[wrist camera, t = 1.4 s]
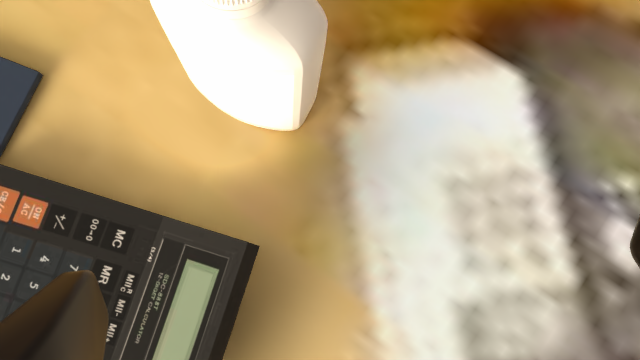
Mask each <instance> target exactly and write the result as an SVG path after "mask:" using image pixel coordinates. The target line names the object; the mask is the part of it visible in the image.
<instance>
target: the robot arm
mask: <svg viewBox="0 0 640 360" xmlns="http://www.w3.org/2000/svg"><path fill="white" fill-rule="evenodd" d="M630 250H631V254H632V257H633V258H634V260H635V262H636V263H637V265H638V266H639V268H640V216H639V218H638V221H637V224H636V227H635V230H634V233H633V236H632V239H631V242H630ZM108 323H109V317H108V310H107V307H106V304H105V301H104V298H103V296H102V293H101V290H100V287H99V284H98V282H97V279H96V276H95V275H94V273H93V272H91V271H89V270H81V271H73V272H65V273H62V274H60V275H59V276H57V277H56V278H55V279H54V280H52V281H51V282H50V283H49V284H47V285H46V286H45V287H44V288H42V289H41V290H40V291H39V292H37V293H36V294H35V295H34V296H32V297H31V298H30V299H29V300H27V301H26V302H25V303H24V304H22V305H21V306H20V307H18V308H17V309H16V310H15V311H13V312H12V313H11V314H10V315H8V316H7V317H6V318H5V319H3V320H2V321H1V322H0V360H103V358H104V351H105V344H106V338H107V331H108Z"/></svg>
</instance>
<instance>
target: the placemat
mask: <svg viewBox="0 0 640 360" xmlns="http://www.w3.org/2000/svg"><path fill="white" fill-rule="evenodd" d="M42 77H43V75H42V74H41V73H40V72H38V71H36V70H33V69H30V68H28V67H25V66H23V65H20V64H18V63H15V62H13V61H10V60H8V59H5V58H2V57H0V157H1V155H2V153H3V151H4V149H5V148H6V146H7V144H8V142H9V140H10V138H11V136H12V134H13V132H14V130H15V128H16V126H17V125H18V123H19V121H20V119H21V117H22V115H23V113H24V111H25V109H26V107H27V105H28V103H29V102H30V100H31V98H32V96H33V94H34V92H35V90H36V88H37V86H38V84H39V82H40V80H41V79H42Z"/></svg>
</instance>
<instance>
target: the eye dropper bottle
mask: <svg viewBox="0 0 640 360" xmlns="http://www.w3.org/2000/svg"><path fill="white" fill-rule="evenodd" d="M150 2H151V5H152V7H153V9H154V11H155V13H156V15H157V17H158V19H159V22H160V23H161V25H162V27H163V29H164V31H165V33H166V35H167V37H168V39H169V41H170V42H171V44H172V46H173V48H174V50H175V52H176V54H177V56H178V57H179V59H180V61H181V63H182V65H183V67H184V69H185V70H186V72H187V74H188V76H189V78H190V80H191V81H192V82H193V84H194V85H195V86H196V87H197V89H198V90H199V91H200V92H201V93H202V94H203V95H204V96H205V97H206V98H207V99H208V100H209V101H211V102H212V103H213V104H214V105H215V106H217V107H218V108H219V109H221V110H222V111H224V112H225V113H227V114H229V115H230V116H232V117H234V118H236V119H238V120H240V121H243V122H245V123H248V124H251V125H254V126H257V127H261V128H266V129H271V130H279V131H292V130H296V129H298V128H299V127H300V126H301V125H302V124H303V123H304V121H305V119H306V117H307V115H308V113H309V111H310V109H311V108H312V106H313V104H314V101H315V99H316V95H317V90H318V84H319V79H320V73H321V68H322V62H323V56H324V50H325V44H326V37H327V29H328V20H327V18H326V15H325V12H324V10H323V9H322V7H321V6H320V4H319V3H318V1H317V0H150Z"/></svg>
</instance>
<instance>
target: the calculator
mask: <svg viewBox="0 0 640 360" xmlns="http://www.w3.org/2000/svg"><path fill="white" fill-rule="evenodd" d="M259 247H260V246H258V245H255V244H252V243H249V242H246V241H243V240H239V239H236V238H233V237H230V236H227V235H223V234H220V233H217V232H214V231H210V230H207V229H204V228H201V227H198V226H194V225H191V224H188V223H185V222H182V221H178V220H175V219H172V218H169V217H165V216H162V215H159V214H156V213H153V212H150V211H146V210H143V209H140V208H137V207H134V206H131V205H127V204H124V203H121V202H118V201H115V200H112V199H108V198H105V197H102V196H99V195H96V194H93V193H90V192H86V191H83V190H80V189H77V188H74V187H71V186H67V185H64V184H61V183H58V182H55V181H52V180H48V179H45V178H42V177H39V176H36V175H33V174H29V173H26V172H23V171H20V170H17V169H14V168H10V167H7V166H4V165H1V164H0V322H1V321H2V320H3V319H5V318H6V317H7V316H8V315H10V314H11V313H12V312H13V311H15V310H16V309H17V308H18V307H20V306H21V305H22V304H24V303H25V302H26V301H27V300H29V299H30V298H31V297H32V296H34V295H35V294H36V293H37V292H39V291H40V290H41V289H42V288H44V287H45V286H46V285H47V284H49V283H50V282H51V281H52V280H54V279H55V278H56V277H57V276H59V275H60V274H62V273H65V272H73V271H81V270H89V271H91V272H93V273H94V275H95V276H96V279H97V282H98V284H99V287H100V290H101V293H102V296H103V298H104V301H105V304H106V307H107V310H108V317H109V323H108V331H107V338H106V344H105V351H104V358H103V360H222V359H223V356H224V353H225V350H226V347H227V344H228V340H229V337H230V334H231V331H232V328H233V325H234V322H235V319H236V316H237V313H238V310H239V307H240V304H241V301H242V298H243V295H244V292H245V289H246V286H247V283H248V280H249V277H250V274H251V271H252V268H253V265H254V262H255V259H256V256H257V253H258V250H259Z"/></svg>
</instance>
